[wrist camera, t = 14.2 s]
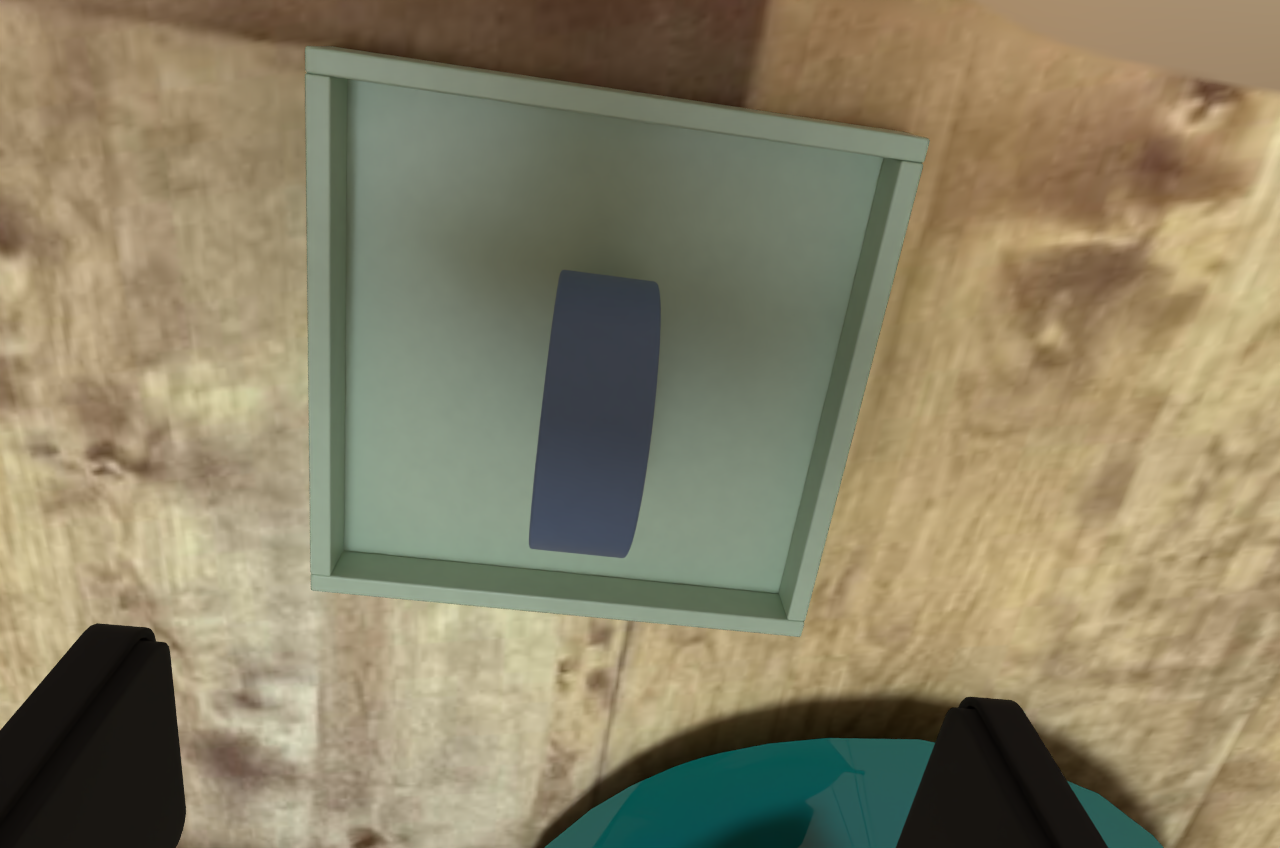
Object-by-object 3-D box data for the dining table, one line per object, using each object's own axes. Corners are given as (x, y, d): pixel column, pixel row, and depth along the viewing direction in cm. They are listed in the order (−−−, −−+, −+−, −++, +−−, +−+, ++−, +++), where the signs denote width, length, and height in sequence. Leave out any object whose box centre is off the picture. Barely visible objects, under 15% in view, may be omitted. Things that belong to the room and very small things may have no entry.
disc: (565, 250, 24) (552, 299, 17) (651, 262, 24) (670, 314, 17) (540, 481, 26) (520, 603, 19) (618, 490, 26) (625, 613, 20)
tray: (329, 45, 22) (304, 44, 20) (905, 132, 23) (931, 138, 21) (329, 555, 28) (310, 591, 26) (788, 601, 29) (801, 637, 27)
